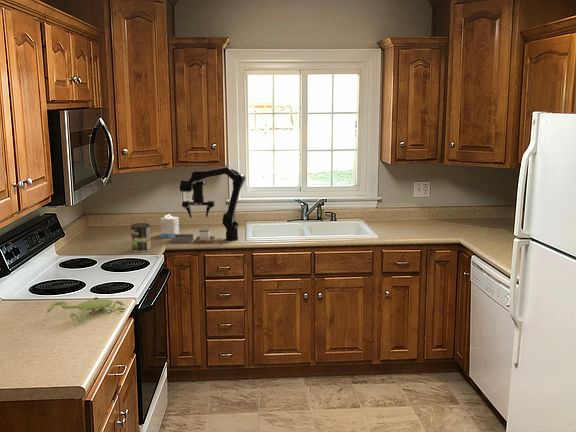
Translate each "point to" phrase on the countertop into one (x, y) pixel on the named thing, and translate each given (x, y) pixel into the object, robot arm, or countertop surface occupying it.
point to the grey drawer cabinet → (182, 238)
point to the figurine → (87, 306)
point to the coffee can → (140, 237)
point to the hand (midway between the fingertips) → (198, 218)
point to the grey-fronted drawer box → (204, 234)
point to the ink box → (169, 226)
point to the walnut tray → (204, 240)
